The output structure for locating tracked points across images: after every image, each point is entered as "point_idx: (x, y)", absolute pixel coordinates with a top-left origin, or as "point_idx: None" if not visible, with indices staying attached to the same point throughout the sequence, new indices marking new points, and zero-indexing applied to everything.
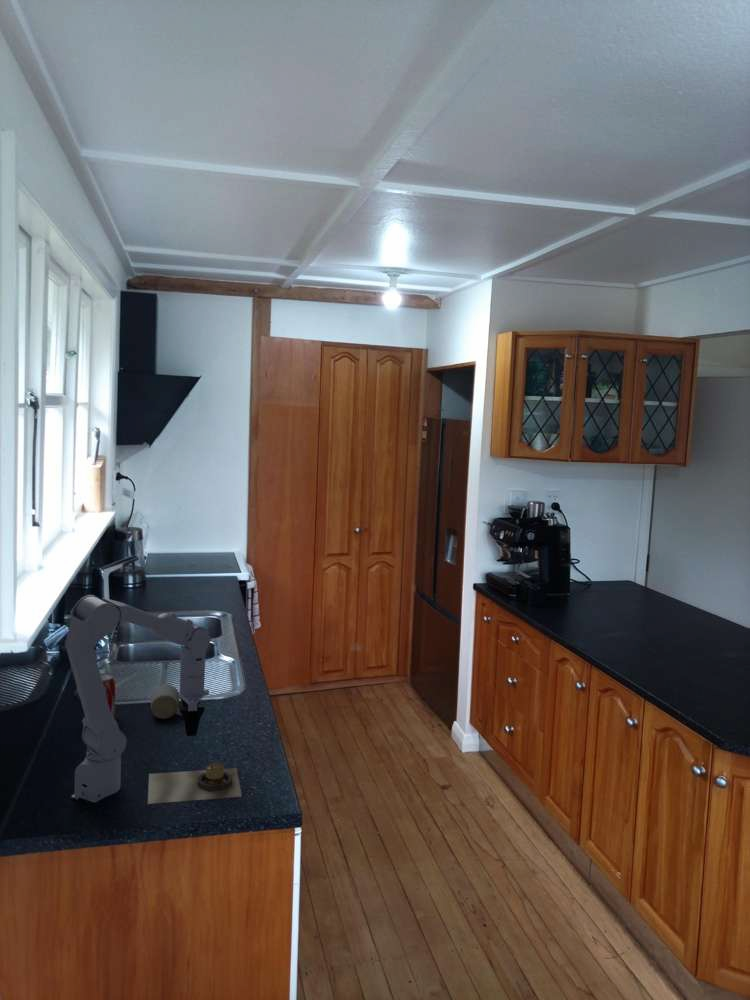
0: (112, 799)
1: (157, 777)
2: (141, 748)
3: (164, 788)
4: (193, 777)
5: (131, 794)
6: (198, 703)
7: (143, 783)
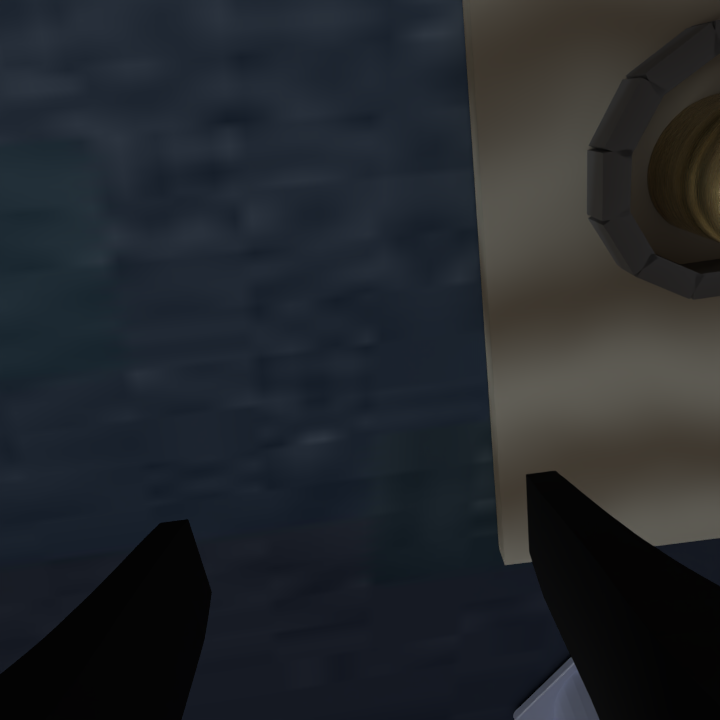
0: None
1: None
2: None
3: (705, 467)
4: (591, 323)
5: None
6: (66, 711)
7: None
